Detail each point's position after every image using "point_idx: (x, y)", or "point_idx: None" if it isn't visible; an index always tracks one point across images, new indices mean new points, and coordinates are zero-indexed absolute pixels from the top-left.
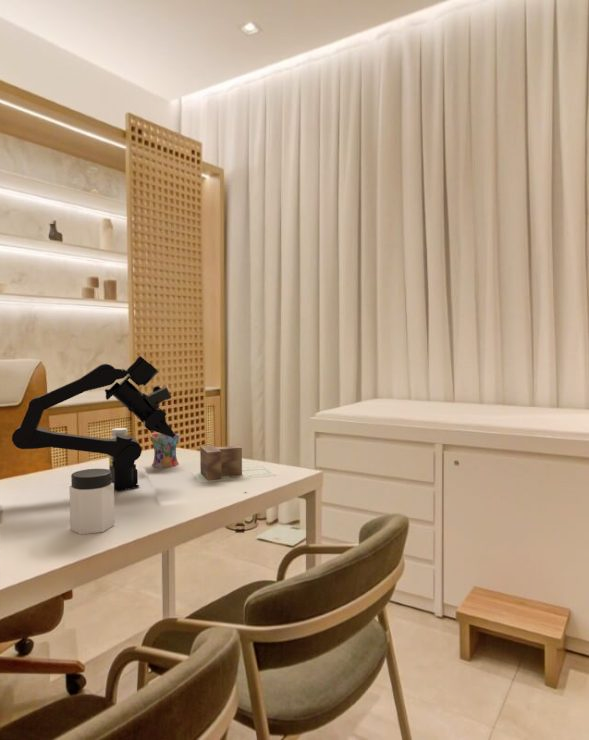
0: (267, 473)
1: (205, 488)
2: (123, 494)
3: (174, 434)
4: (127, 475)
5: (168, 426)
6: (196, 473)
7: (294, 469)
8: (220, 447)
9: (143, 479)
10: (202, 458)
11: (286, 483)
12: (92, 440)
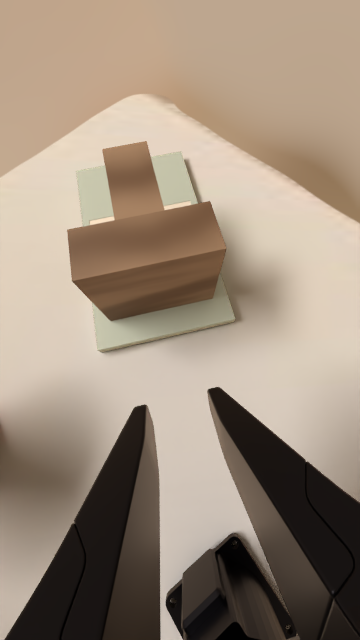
0: (159, 165)
1: (257, 307)
2: None
3: (224, 393)
4: (281, 630)
5: (313, 469)
6: (116, 333)
7: (102, 123)
8: (123, 204)
9: None
10: (132, 291)
11: (225, 145)
12: None
